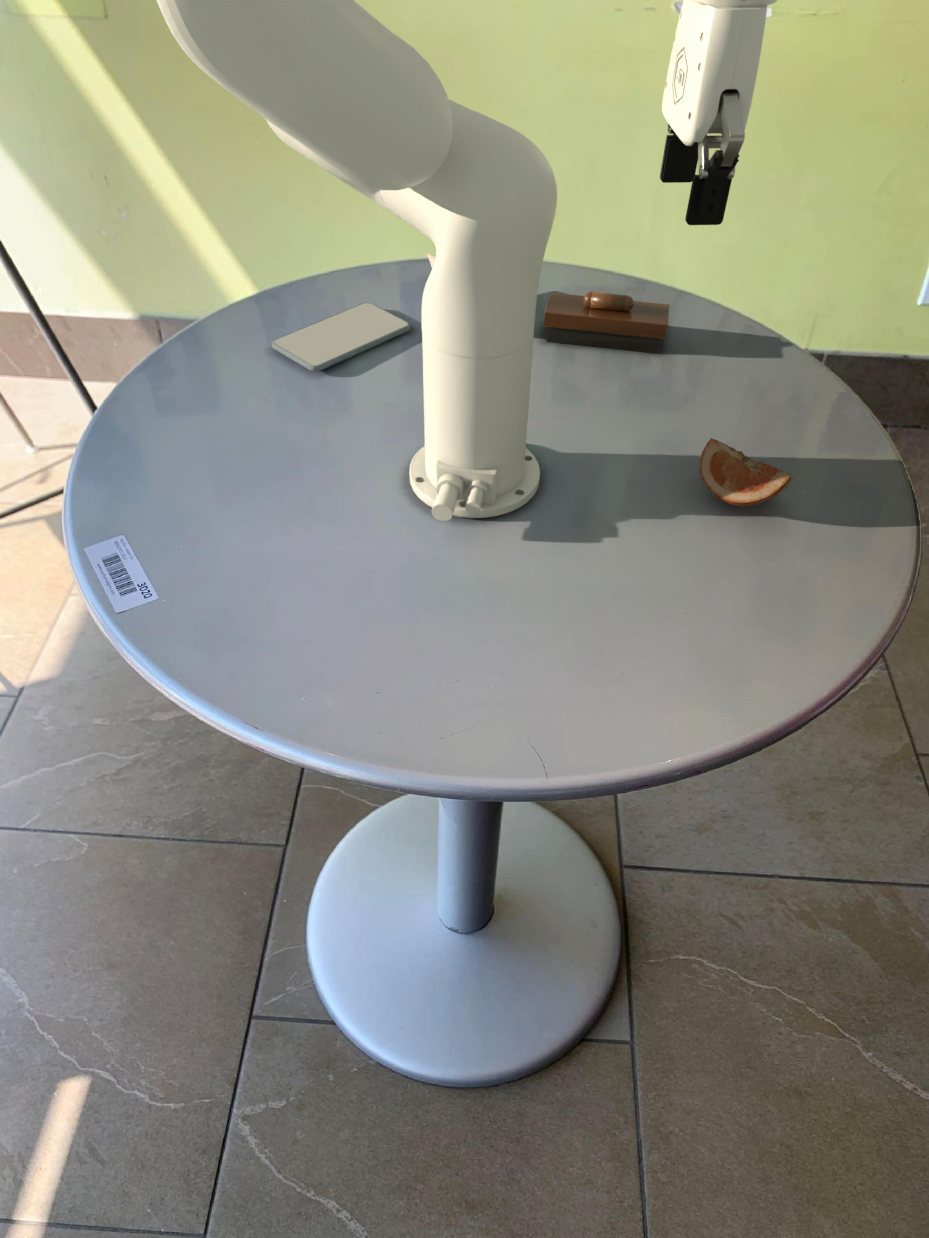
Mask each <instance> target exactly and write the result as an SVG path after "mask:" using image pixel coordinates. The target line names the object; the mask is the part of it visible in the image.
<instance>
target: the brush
mask: <svg viewBox="0 0 929 1238" xmlns="http://www.w3.org/2000/svg"><path fill="white" fill-rule="evenodd" d="M669 314H670V304H667V303H658V302H657V303H656V302H648V301H639V300H638V301H637V300H634V299H633V297H632V296H630V295H628V294H620V293H619V294H618V293H608V292H600V291H599V292H598V291H587V293H585V294H584V295H579V294H568V293H558V292H556V293H555V292H549V296H548V298H547V302H546V306H545V310H544V314H543V315H544V316H543V327H544V328H546V337H545V342H547V343H555V344H565V345H573V346H574V345H576V346H583V347H593V348H602V349H613V350H620V351H621V350H622V351H630V352H631V351H632V352H641V353H650V354H660V350H661V344H662V340H666V337H667V332H668V327H669Z"/></svg>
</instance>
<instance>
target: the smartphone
mask: <svg viewBox="0 0 929 1238" xmlns="http://www.w3.org/2000/svg"><path fill="white" fill-rule="evenodd" d="M410 330H411V324H410V323H409V322H408V321H407V320H404V319H402V318H400V317H399V316H397V315H394V314H393V313H391V312H389V311H386V310H385V309H383V308H381V307H379V306H377V305H376V304H373V303H371V302H362V303H359V304H357V305H355V306H352V307H350V308H347V309H344V310H343V311H340V312H337V313H335V314H333V315H329V316H328V317H325V318H323V319H321V320H318V321H316V322H313V323H310V324H308V325H306V326H304V327H302V328H299V329H296V330H294V331H292V332H289V333H287V334H284V335H282V336H279V337H277V338H275V339H273V340H272V341H271V348H272V349H274V350H275V351H277V352H278V353H280V354H282V355H284V356H285V357H287V358H289V359H290V360H292V361H294V362H295V363H297V364H299V365H300V366H302V367H304V368H305V369H307V370H308V371H310V372H313V373H314V372H315V373H316V372H317V373H318V372H320V371H323V370H325V369H328V368H330V367H331V366H334V365H337V364H339V363H341V362H342V361H346V360H347V359H350V358H352V357H354V356H356V355H359V354H361V353H363V352H365V351H368V350H371V349H373V348H374V347H376V346H379V345H380V344H384V343H386V342H387V341H389V340H391V339H394V338H396V337H399V336H401V335H403V334H405V333H407V332H409V331H410Z"/></svg>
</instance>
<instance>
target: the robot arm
mask: <svg viewBox="0 0 929 1238" xmlns="http://www.w3.org/2000/svg"><path fill="white" fill-rule="evenodd" d="M777 1H778V0H683V1H682V5H681V9H680V13H679V17H678V20H677V21H678V22H677V24H676V25H677V26H676V30H675V34H674V39H673V43H672V49H671V54H670V59H669V64H668V69H667V73H666V74H667V76H666V78H665V79H666V80H665V84H664V88H663V89H664V90H663V95H662V101H661V112H662V115H663V117H664V119H665V121H666V122H667V134H666V135H665V143H664V147H663V148H664V149H663V155H662V161H661V167H660V174H659V179H660V181H661V183H664V184H665V183H668V184H670V183H672V184H677V183H691V185H690V193H689V198H688V203H687V208H686V213H685V218H684V219H685V220H684V221H685V222H686V224H687V225H688V226H718V225H721V224H722V223H723V221H724V217H725V213H726V208H727V204H728V200H729V195H730V190H731V186H732V181H733V178H734V177H735V173H736V166H737V164H738V163H739V161H740V159H739V157H740V154H739V153H740V152H741V149H742V147H743V144H744V142H745V137H746V133H745V132H746V128H747V123H748V119H749V116H750V111H751V108H752V102H753V98H754V92H755V87H756V83H757V77H758V71H759V65H760V59H761V52H762V47H763V41H764V35H765V28H766V27H765V26H766V20H767V11H768V6H770V5H773V4H775V3H776V2H777ZM156 2H157V5H158V7H159V10H160V13H161V14H162V17H163V19H164V21H165V24H166V25H167V27H168V29H169V30H170V33H171V34H172V36H173V38H174V39H175V42H177V44H178V45H179V47H180V48H181V49H182V51H183V52H184V53H185V55H186V56H187V57H188V58H189V59H190V61H192V63H194V64H195V65H196V66H197V67H198V68H199V70H201V71H202V72H204V73H205V74H206V75H207V76H208V77H210V78H211V79H212V80H213V81H214V82H216V83H217V84H218V85H219V86H221V87H222V88H223V89H225V91H227V92H229V93H230V94H232V96H234V97H235V98H237V99H239V100H240V101H241V102H242V103H244V104H245V105H247V106H248V107H249V108H251V109H252V110H253V111H255V112H256V113H258V114H259V115H260V116H262V117H263V118H264V119H265V121H266V123H267V125H268V126H269V127H270V129H271V130H272V131H273V133H274V134H275V135H276V136H277V137H278V138H279V139H280V141H282V142H283V143H284V144H285V145H286V146H288V147H289V148H291V149H292V150H294V151H295V152H296V153H298V154H299V155H302V157H304V158H306V159H307V160H309V161H310V162H312V163H313V164H315V165H317V166H318V167H320V168H321V169H323V170H324V171H326V172H327V173H329V174H331V175H332V176H333V177H335V178H336V179H338V180H339V181H341V182H342V183H344V184H346V185H347V186H349V187H350V188H352V189H353V190H355V191H357V192H358V193H360V194H361V195H363V196H364V197H365V198H368V199H369V200H371V201H372V202H373V203H375V204H377V205H378V206H380V207H381V208H383V209H384V210H386V211H387V212H388V213H390V214H392V215H394V216H395V217H397V218H398V219H399V220H402V221H403V222H405V223H406V224H408V225H410V226H411V227H413V228H414V229H416V230H417V231H418V232H420V233H421V234H422V235H423V236H425V237H426V238H428V239H429V240H430V241H431V242H432V243H433V244H434V248H435V256H436V258H435V262H434V265H433V268H432V267H431V271H430V272H429V276H428V278H427V280H426V282H425V284H424V288H423V292H422V297H421V310H420V311H421V319H420V320H421V342H422V344H421V345H422V346H421V347H422V381H423V382H422V383H423V385H422V386H423V387H422V389H423V426H424V428H423V429H424V431H423V432H424V445H423V446H422V447H421V448H420V449H419V450H418V451H417V452H416V453H415V454H414V456H413V457H412V459H411V461H410V464H409V471H408V472H409V473H408V475H409V484H410V486H411V489H412V491H413V492H414V495H416V496H417V498H418V499H419V500H420V501H422V502H423V503H424V504H425V505H426V506H428V507H430V508H431V516H432V517H433V519H436V520H437V521H440V522H449V521H450V520H451V519H452V518H453V517H459V518H466V519H487V518H492V517H499V516H502V515H505V514H509V513H511V512H513V511H516V510H517V509H519V508H521V507H523V506H524V505H526V504H527V503H528V502H530V500H531V499H532V498H533V497H535V494H536V492H537V491H538V489H539V486H540V479H541V478H540V477H541V468H540V465H539V462H538V460H537V459H536V457H535V455H534V454H533V453H532V452H531V451H530V450H529V449H528V448H527V446H526V445H527V434H528V433H527V432H528V421H529V420H528V419H529V405H530V394H531V392H530V391H531V381H532V380H531V378H532V365H533V351H534V350H533V349H534V335H535V324H536V313H537V312H536V311H537V299H538V291H539V284H540V283H539V282H540V276H541V271H542V266H543V262H544V257H545V253H546V250H547V247H548V244H549V243H548V242H549V240H550V239H549V238H550V236H551V232H552V228H553V225H554V221H555V217H556V212H557V207H558V206H557V205H558V187H557V181H556V176H555V173H554V171H553V168H552V166H551V164H550V162H549V159H547V157H546V156H545V154H544V153H543V152H542V150H541V149H540V148H539V147H538V146H537V145H536V144H535V143H534V142H533V141H532V140H531V139H529V138H528V137H526V136H525V135H524V134H523V133H521V132H519V131H518V130H516V129H514V128H513V127H511V126H509V125H506V124H504V123H502V122H500V121H498V120H496V119H493V118H491V117H490V116H488V115H485V114H483V113H481V112H478V111H475V110H473V109H470V108H469V107H466V106H465V105H463V104H460V103H459V102H455V101H453V100H451V99H449V96H448V95H447V92H446V89H445V87H444V85H443V83H442V82H441V80H440V78H439V76H438V74H436V72H435V70H434V68H432V66H431V64H430V63H429V62H428V61H427V60H426V59H425V58H424V56H423V55H422V54H421V53H420V52H418V51H417V49H415V48H414V47H413V46H412V45H410V44H409V43H408V42H406V41H405V40H404V39H403V38H401V37H400V36H398V35H397V34H395V33H394V32H392V31H391V30H390V29H389V28H387V27H386V26H385V25H384V24H383V23H381V22H380V21H379V20H378V19H377V18H375V17H374V16H373V15H372V14H371V13H370V12H368V10H366V9H364V7H363V6H362V5H360V4H359V3H358V2H356V1H355V0H156ZM708 134H709V135H708ZM711 134H712V135H711ZM713 134H720V135H713ZM710 149H713V150H714V149H716V150H715V151H714V153H713V154H712V156H711V157H710ZM697 170H698V172H697ZM696 172H697V173H698V174H696Z"/></svg>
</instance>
